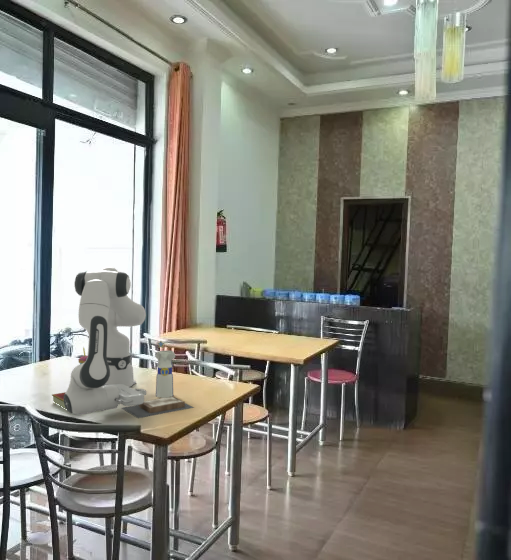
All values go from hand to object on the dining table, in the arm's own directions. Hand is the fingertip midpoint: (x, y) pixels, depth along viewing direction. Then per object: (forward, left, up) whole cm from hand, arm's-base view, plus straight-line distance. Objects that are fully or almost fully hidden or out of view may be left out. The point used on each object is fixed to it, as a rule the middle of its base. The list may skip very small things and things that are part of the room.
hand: (144, 391), depth 189 cm
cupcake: (-90, +8, -8) cm, 91 cm away
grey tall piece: (-15, +17, -8) cm, 24 cm away
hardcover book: (-22, -19, -8) cm, 30 cm away
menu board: (0, 0, -6) cm, 6 cm away
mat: (0, +6, -8) cm, 10 cm away
